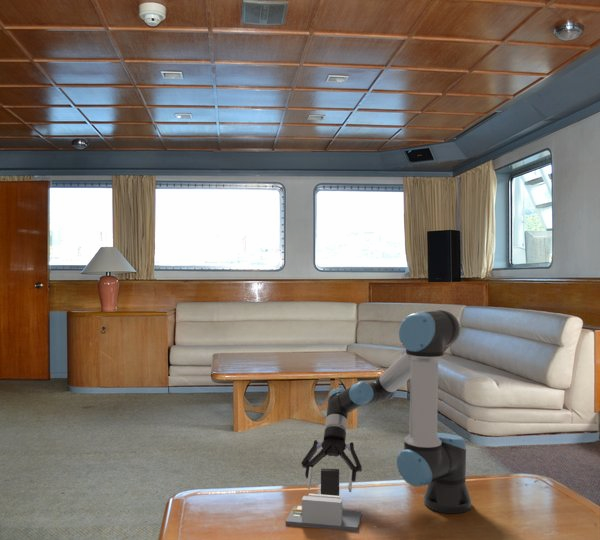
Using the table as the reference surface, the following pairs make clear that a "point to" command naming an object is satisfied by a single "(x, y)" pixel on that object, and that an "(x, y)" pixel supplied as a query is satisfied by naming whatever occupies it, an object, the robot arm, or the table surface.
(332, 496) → the light gray flat plate
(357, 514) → the base
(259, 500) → the table surface
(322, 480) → the door stopper
